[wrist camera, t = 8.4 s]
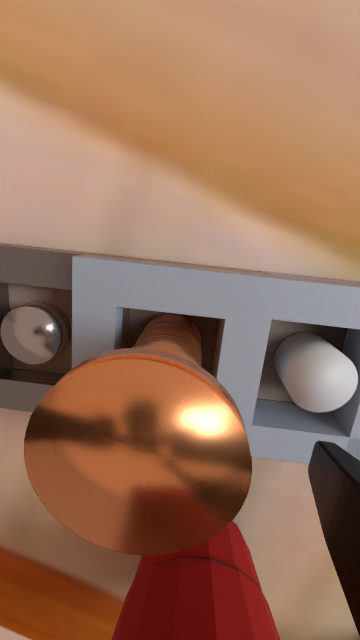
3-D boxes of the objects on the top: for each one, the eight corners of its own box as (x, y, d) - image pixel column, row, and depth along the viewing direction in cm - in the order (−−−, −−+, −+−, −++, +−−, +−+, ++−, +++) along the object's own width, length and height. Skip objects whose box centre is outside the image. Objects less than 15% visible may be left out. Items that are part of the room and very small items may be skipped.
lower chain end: (239, 424, 16) (242, 438, 15) (-15, 391, 16) (-32, 403, 15) (266, 272, 14) (272, 275, 13) (-28, 240, 14) (-48, 240, 13)
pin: (231, 298, 14) (272, 378, 6) (216, 396, 16) (232, 569, 7) (121, 285, 14) (19, 347, 6) (116, 383, 16) (27, 539, 8)
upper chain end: (350, 438, 16) (377, 472, 13) (90, 405, 16) (71, 433, 14) (396, 286, 13) (436, 296, 11) (93, 253, 14) (72, 256, 12)
